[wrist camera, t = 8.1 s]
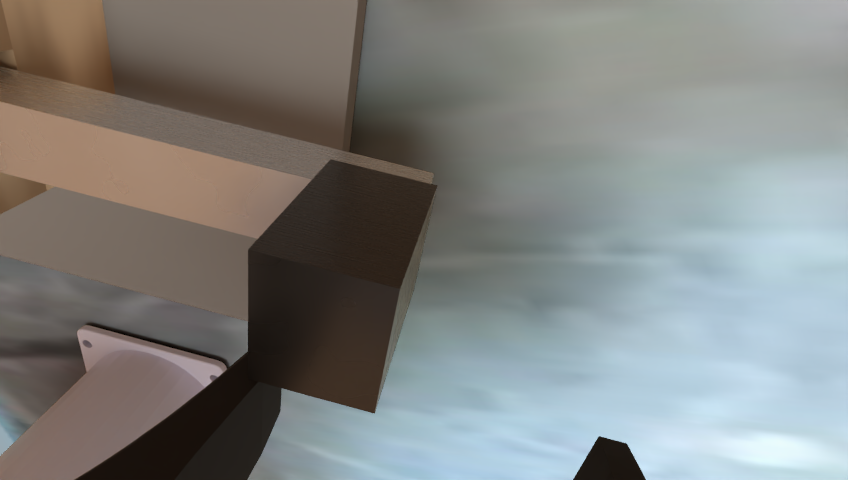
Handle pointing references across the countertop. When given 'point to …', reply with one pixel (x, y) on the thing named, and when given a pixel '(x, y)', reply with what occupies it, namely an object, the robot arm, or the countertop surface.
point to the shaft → (248, 220)
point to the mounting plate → (210, 97)
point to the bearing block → (52, 59)
